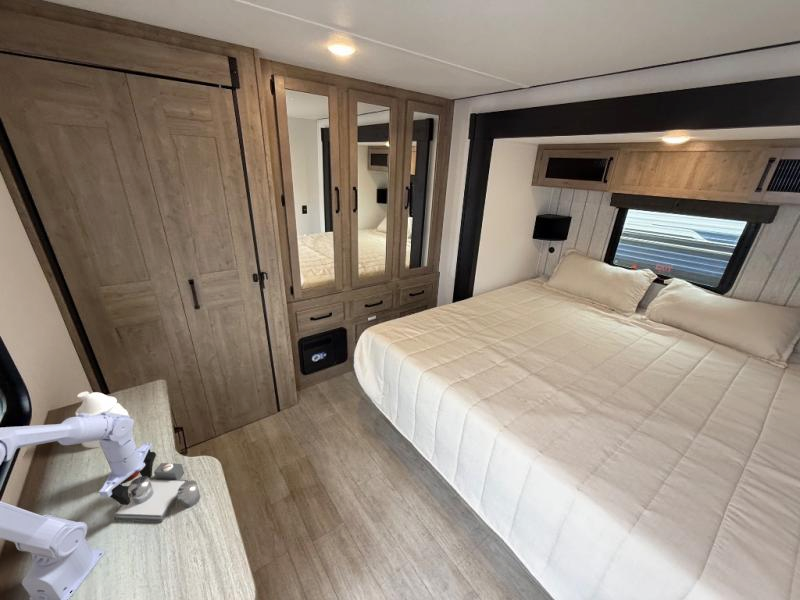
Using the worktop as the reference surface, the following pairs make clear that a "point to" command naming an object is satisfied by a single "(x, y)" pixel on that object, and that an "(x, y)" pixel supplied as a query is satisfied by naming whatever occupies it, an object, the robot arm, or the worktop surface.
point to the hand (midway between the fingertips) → (136, 489)
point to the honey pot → (98, 409)
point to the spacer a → (141, 489)
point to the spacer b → (189, 494)
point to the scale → (156, 496)
